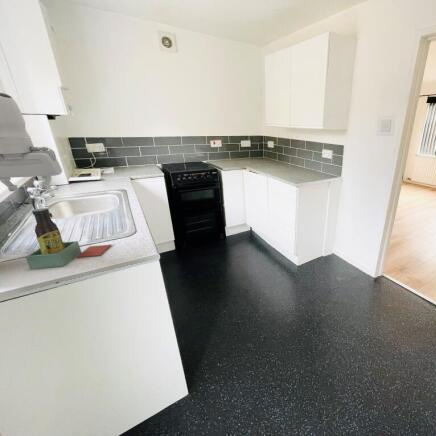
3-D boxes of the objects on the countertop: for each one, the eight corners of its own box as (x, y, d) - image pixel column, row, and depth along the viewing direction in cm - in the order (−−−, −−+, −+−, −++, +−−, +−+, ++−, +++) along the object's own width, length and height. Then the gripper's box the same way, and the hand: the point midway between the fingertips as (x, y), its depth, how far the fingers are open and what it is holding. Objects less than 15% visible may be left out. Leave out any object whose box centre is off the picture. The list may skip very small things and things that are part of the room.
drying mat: (76, 258, 93) (76, 256, 93) (90, 247, 101) (89, 246, 101) (100, 255, 94) (99, 254, 94) (111, 245, 103) (111, 244, 103)
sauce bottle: (52, 265, 88) (32, 213, 81) (41, 263, 89) (20, 212, 83) (73, 257, 93) (55, 207, 87) (62, 255, 95) (43, 206, 88)
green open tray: (30, 269, 86) (24, 256, 84) (52, 255, 95) (47, 243, 94) (63, 266, 87) (59, 253, 86) (81, 252, 97) (77, 241, 96)
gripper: (58, 146, 82) (71, 186, 87) (-15, 147, 79) (3, 189, 83) (45, 147, 77) (59, 190, 81) (-35, 149, 73) (-15, 194, 78)
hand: (30, 190), depth 82 cm, fingers open, 8 cm apart
